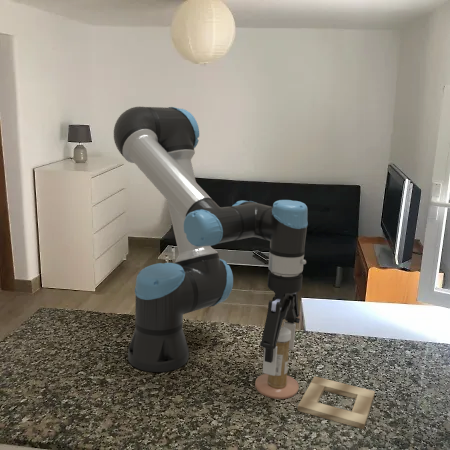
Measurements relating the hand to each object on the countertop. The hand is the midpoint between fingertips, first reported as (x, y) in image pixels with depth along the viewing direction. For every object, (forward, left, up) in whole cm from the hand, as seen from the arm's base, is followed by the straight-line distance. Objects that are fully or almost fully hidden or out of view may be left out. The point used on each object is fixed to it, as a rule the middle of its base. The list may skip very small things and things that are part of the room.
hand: (278, 360), depth 119 cm
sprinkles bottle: (0, 0, -6) cm, 6 cm away
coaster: (0, 0, -7) cm, 7 cm away
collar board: (+14, 0, -7) cm, 16 cm away
